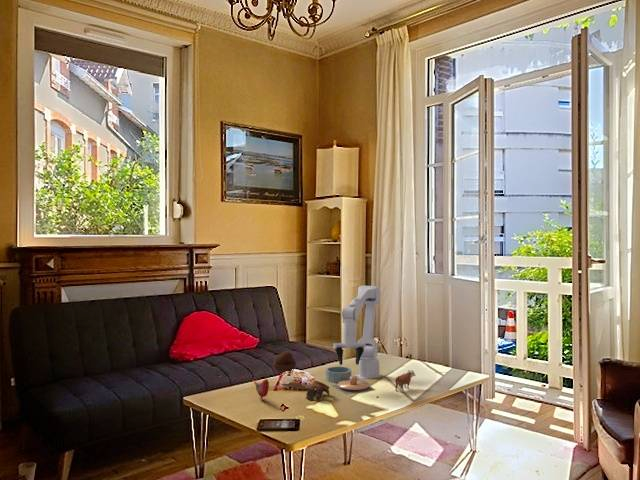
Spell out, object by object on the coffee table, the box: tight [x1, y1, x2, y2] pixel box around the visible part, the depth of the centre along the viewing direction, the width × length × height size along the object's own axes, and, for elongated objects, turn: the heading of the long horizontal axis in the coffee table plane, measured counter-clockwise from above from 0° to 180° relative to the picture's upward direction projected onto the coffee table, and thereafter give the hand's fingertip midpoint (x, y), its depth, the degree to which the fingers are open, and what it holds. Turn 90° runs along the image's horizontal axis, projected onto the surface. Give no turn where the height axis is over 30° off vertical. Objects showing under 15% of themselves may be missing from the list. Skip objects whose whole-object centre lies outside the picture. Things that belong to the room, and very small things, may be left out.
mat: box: [331, 383, 376, 395], centre depth 248 cm, size 15×15×1 cm
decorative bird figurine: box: [252, 378, 270, 402], centre depth 232 cm, size 3×18×10 cm, turn 27°
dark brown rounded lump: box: [272, 350, 297, 375], centre depth 257 cm, size 11×11×15 cm
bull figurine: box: [394, 369, 416, 392], centre depth 246 cm, size 4×13×8 cm, turn 137°
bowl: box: [325, 365, 353, 384], centre depth 262 cm, size 12×12×5 cm
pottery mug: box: [305, 380, 330, 401], centre depth 234 cm, size 12×10×8 cm
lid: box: [337, 375, 370, 390], centre depth 248 cm, size 14×14×5 cm
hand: (349, 364), depth 248 cm, fingers open, 7 cm apart
